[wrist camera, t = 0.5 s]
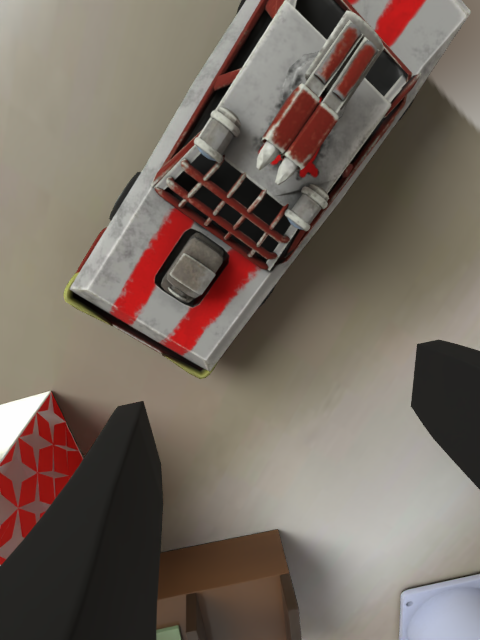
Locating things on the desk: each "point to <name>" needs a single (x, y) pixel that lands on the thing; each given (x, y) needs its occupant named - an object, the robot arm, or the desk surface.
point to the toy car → (256, 166)
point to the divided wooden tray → (227, 591)
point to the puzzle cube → (31, 464)
